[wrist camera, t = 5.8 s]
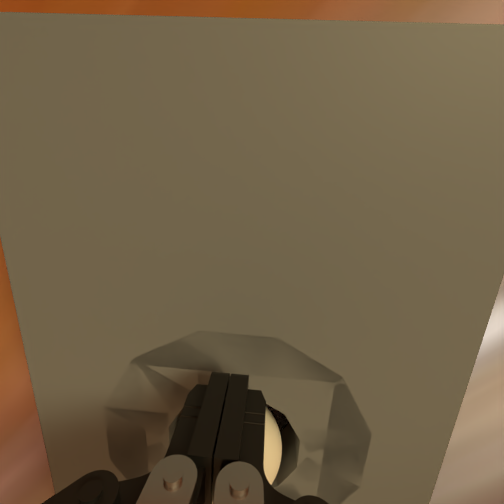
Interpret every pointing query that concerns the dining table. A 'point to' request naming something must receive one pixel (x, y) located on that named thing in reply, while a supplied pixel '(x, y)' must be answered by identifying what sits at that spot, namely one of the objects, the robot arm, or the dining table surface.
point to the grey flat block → (253, 233)
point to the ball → (271, 447)
